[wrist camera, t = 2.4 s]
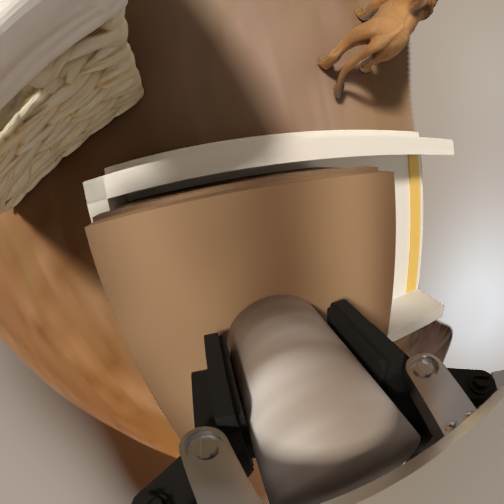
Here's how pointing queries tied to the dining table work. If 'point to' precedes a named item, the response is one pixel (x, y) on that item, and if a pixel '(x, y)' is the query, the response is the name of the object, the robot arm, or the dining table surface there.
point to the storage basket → (58, 83)
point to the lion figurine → (378, 35)
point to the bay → (290, 158)
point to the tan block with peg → (266, 314)
